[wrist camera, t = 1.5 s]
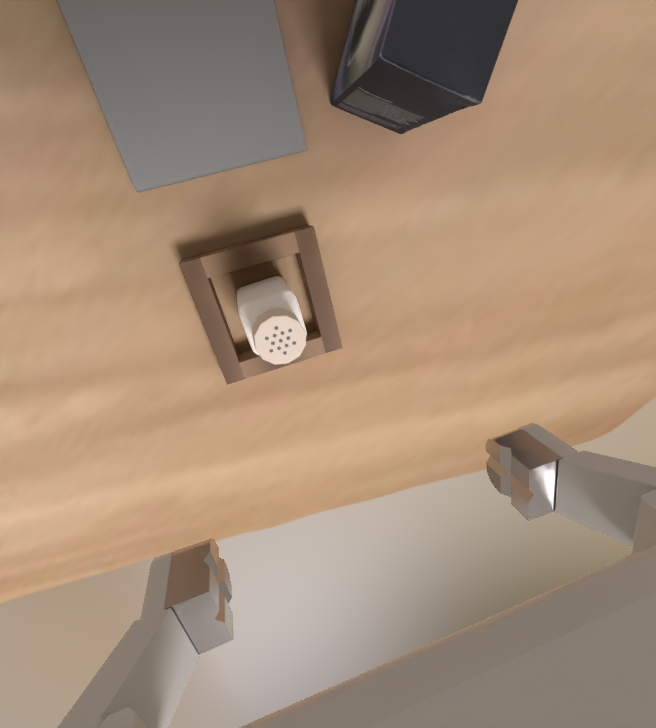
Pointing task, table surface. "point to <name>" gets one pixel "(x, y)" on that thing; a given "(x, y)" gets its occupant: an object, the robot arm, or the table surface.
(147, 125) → the mat
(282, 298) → the pepper shaker
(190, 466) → the table surface
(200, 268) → the collar
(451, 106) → the small box
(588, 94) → the table surface
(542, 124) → the table surface
